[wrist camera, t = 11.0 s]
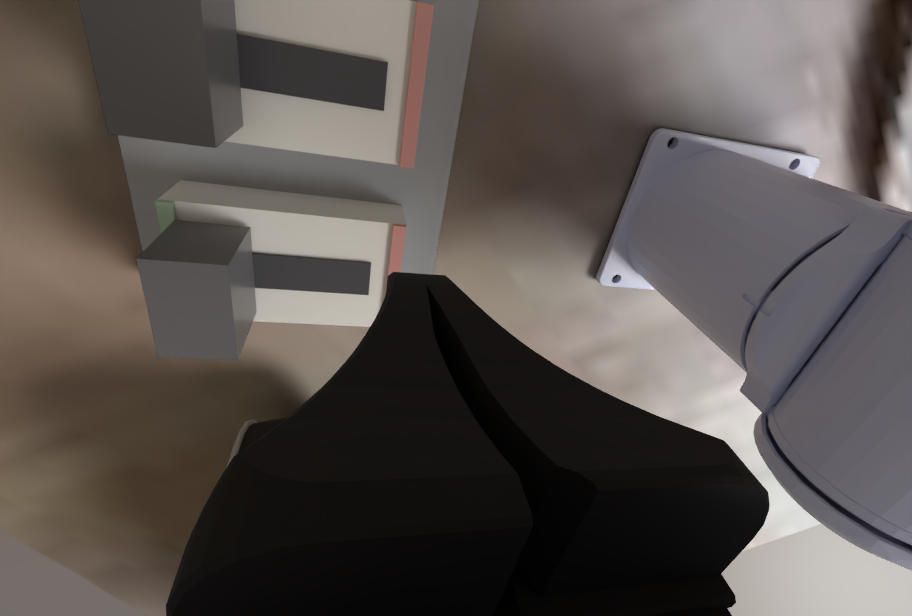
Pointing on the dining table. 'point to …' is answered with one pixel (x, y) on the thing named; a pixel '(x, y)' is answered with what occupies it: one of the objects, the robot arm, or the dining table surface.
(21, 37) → the dining table surface
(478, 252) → the dining table surface
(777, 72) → the dining table surface
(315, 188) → the breaker board
